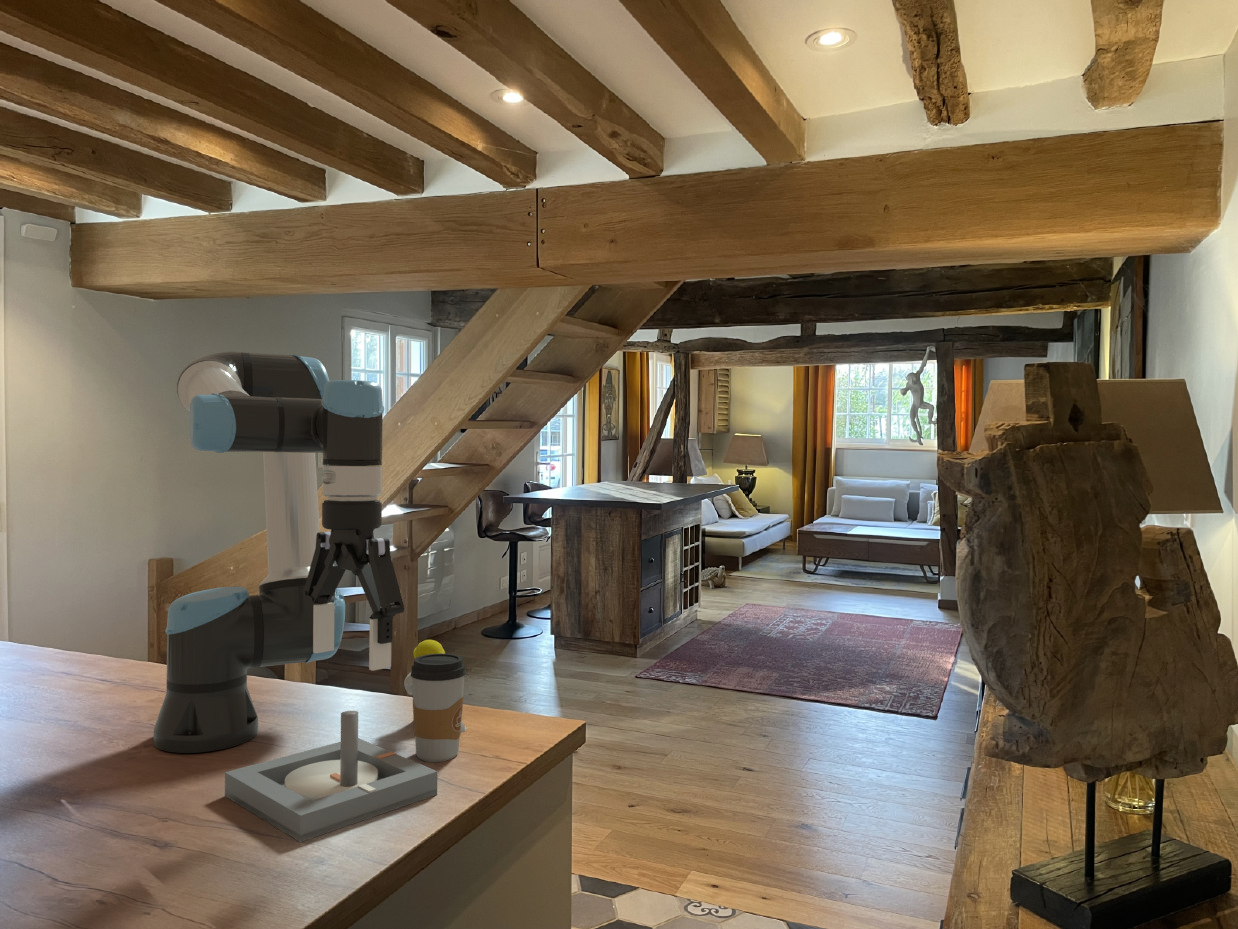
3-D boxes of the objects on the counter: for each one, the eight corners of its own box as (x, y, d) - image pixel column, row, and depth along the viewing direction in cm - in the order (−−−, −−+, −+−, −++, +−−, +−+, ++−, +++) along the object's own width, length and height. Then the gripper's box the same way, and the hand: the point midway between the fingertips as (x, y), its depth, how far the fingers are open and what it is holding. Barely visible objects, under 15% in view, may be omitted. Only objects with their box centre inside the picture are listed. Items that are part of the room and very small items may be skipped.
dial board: (224, 796, 119) (225, 770, 118) (356, 758, 134) (356, 736, 133) (300, 842, 105) (300, 814, 105) (437, 794, 120) (437, 770, 120)
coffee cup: (452, 768, 130) (453, 667, 130) (399, 763, 132) (401, 663, 131) (473, 749, 138) (474, 654, 138) (423, 745, 140) (424, 651, 140)
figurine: (409, 743, 141) (411, 650, 140) (399, 726, 149) (400, 638, 149) (471, 736, 145) (473, 645, 144) (458, 720, 153) (459, 634, 153)
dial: (267, 787, 119) (268, 706, 119) (347, 764, 128) (348, 689, 128) (313, 813, 111) (314, 726, 111) (395, 787, 120) (396, 706, 120)
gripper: (278, 495, 121) (277, 649, 121) (381, 503, 105) (380, 682, 105) (328, 494, 127) (326, 641, 127) (433, 501, 110) (431, 670, 111)
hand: (350, 660), depth 116 cm, fingers open, 13 cm apart
